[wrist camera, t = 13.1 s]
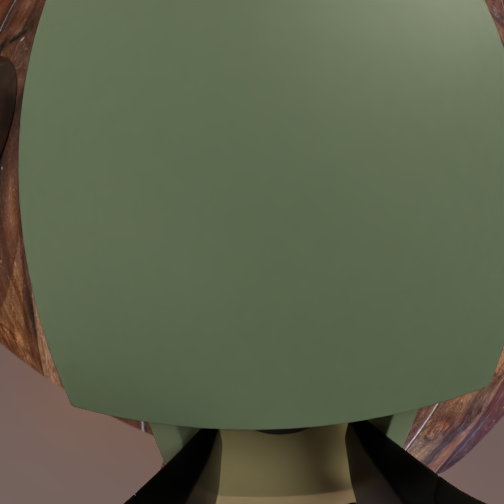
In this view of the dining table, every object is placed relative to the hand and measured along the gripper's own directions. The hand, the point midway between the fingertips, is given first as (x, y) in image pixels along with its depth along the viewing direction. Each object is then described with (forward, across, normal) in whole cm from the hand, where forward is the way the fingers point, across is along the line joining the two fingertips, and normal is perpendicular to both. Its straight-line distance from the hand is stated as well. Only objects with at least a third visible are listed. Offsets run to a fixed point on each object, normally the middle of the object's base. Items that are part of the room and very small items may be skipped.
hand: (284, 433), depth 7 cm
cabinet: (+6, 0, -8) cm, 10 cm away
